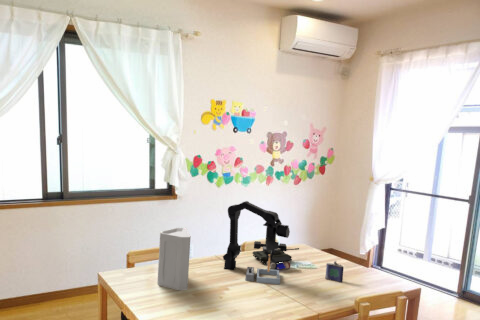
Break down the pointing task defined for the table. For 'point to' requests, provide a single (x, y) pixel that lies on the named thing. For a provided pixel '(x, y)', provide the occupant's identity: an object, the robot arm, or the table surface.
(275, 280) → the tray
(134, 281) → the table surface
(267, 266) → the tan wooden block
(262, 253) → the toy tank
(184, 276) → the tall grey upright pillar
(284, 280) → the table surface
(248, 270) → the dispenser
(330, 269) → the wallet
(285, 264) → the figurine character
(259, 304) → the table surface
